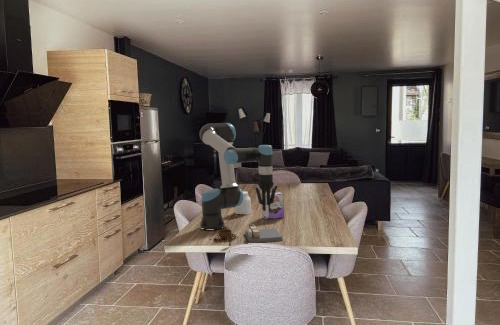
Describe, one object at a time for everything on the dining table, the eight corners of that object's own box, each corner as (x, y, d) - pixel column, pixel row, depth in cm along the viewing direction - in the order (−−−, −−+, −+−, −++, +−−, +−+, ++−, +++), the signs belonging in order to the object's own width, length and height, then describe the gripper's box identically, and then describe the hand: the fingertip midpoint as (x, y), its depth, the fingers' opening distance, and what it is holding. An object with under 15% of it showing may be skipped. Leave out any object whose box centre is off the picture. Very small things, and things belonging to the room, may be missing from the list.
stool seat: (249, 242, 200) (248, 233, 200) (245, 233, 217) (244, 225, 216) (282, 240, 203) (281, 231, 202) (275, 231, 219) (275, 223, 219)
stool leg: (249, 229, 216) (248, 224, 216) (254, 229, 217) (254, 224, 217) (254, 237, 201) (253, 232, 201) (259, 237, 202) (259, 231, 201)
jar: (251, 211, 271) (250, 191, 270) (250, 214, 262) (249, 193, 260) (235, 211, 272) (235, 191, 270) (234, 215, 262) (233, 194, 261)
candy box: (264, 219, 247) (263, 195, 245) (261, 217, 253) (261, 193, 251) (284, 217, 250) (283, 193, 249) (281, 215, 256) (280, 191, 254)
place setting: (243, 237, 213) (243, 226, 212) (232, 248, 194) (232, 237, 193) (215, 235, 218) (214, 225, 217) (201, 246, 199) (200, 236, 198)
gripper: (256, 175, 197) (257, 219, 200) (279, 173, 201) (280, 216, 204) (252, 173, 204) (253, 215, 207) (274, 172, 208) (274, 213, 211)
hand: (266, 216), depth 206 cm, fingers closed
